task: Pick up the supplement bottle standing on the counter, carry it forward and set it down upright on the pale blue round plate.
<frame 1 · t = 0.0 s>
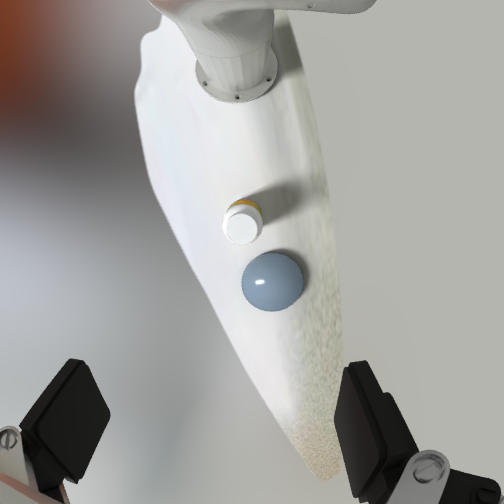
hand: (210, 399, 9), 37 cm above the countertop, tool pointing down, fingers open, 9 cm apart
supplement bottle: (244, 215, 44), on the countertop
pale blue round plate: (272, 280, 47), on the countertop
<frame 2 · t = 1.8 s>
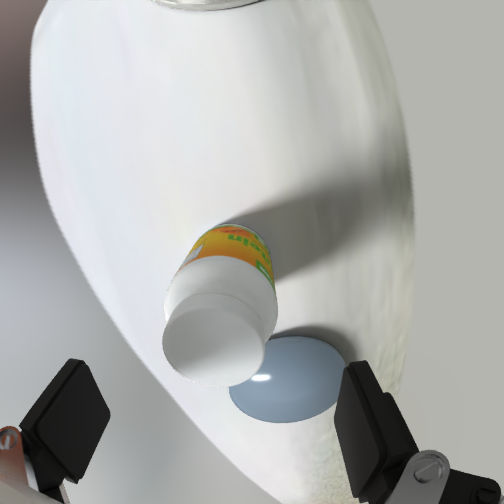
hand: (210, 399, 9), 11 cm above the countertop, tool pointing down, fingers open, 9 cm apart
supplement bottle: (231, 260, 20), on the countertop
pale blue round plate: (287, 377, 23), on the countertop
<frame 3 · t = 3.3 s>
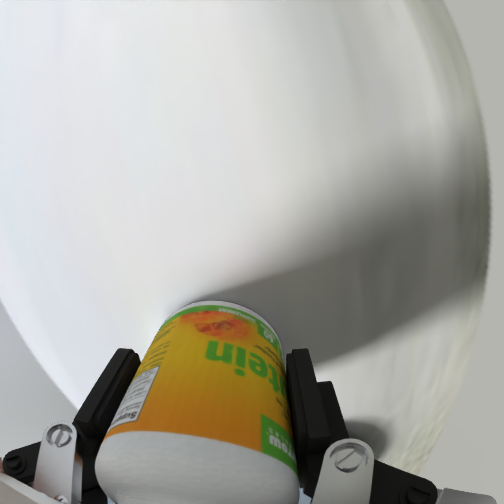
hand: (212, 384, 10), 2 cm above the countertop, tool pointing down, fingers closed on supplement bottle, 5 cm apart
supplement bottle: (219, 349, 12), on the countertop, touching gripper
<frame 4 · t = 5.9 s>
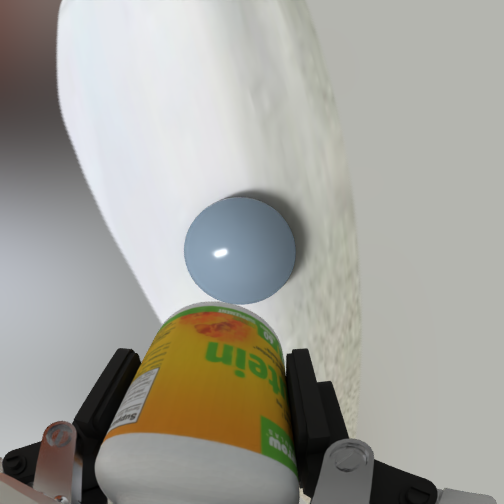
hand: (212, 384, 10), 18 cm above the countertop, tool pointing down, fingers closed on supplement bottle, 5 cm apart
supplement bottle: (219, 350, 12), point 16 cm above the countertop, touching gripper
pale blue round plate: (240, 249, 27), on the countertop
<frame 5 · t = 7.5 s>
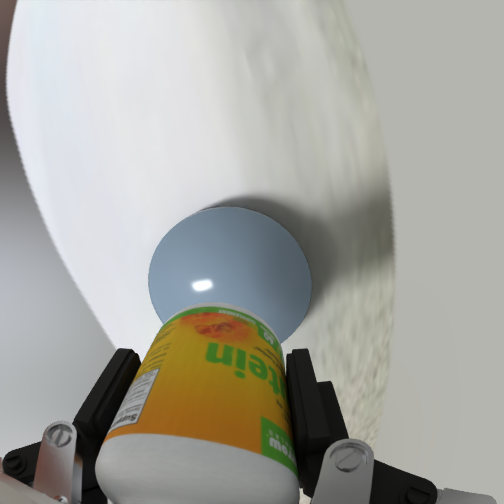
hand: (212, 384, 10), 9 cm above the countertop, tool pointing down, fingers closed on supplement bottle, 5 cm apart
supplement bottle: (219, 351, 12), point 7 cm above the countertop, touching gripper
pale blue round plate: (229, 282, 18), on the countertop
when the fingers open (5 cm above the countertop, at t = 8.7 s): supplement bottle drops 2 cm, resting on pale blue round plate.
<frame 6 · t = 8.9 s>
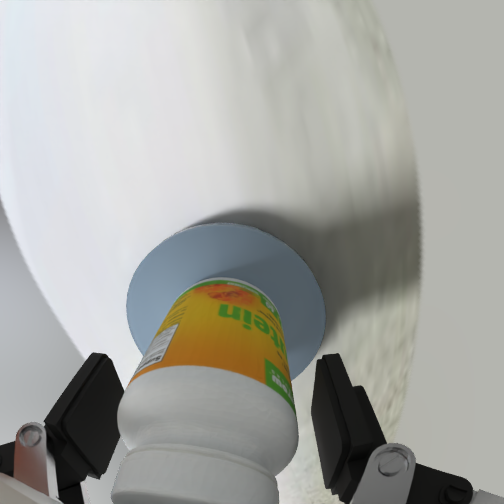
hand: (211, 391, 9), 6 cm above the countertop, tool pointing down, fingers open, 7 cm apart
supplement bottle: (225, 324, 13), point 1 cm above the countertop, touching pale blue round plate
pale blue round plate: (225, 314, 15), on the countertop
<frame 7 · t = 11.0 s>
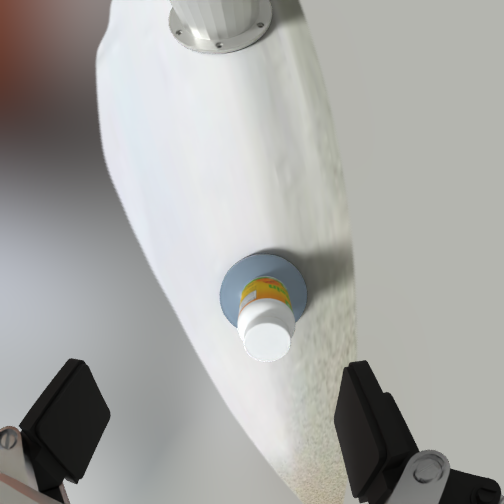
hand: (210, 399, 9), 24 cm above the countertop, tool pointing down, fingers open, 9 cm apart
supplement bottle: (264, 296, 32), point 1 cm above the countertop, touching pale blue round plate
pale blue round plate: (263, 293, 34), on the countertop
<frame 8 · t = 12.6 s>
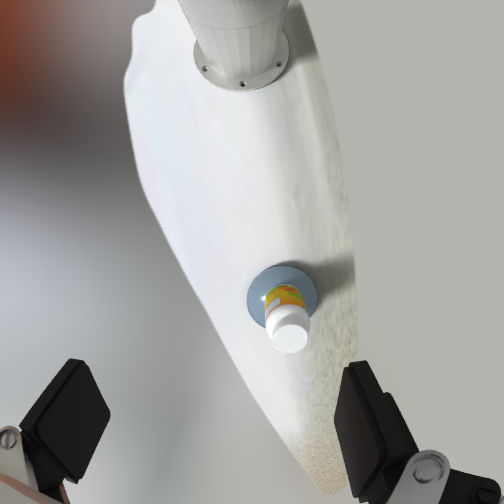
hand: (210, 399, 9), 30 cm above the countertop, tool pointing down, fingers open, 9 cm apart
supplement bottle: (283, 299, 40), point 1 cm above the countertop, touching pale blue round plate
pale blue round plate: (281, 296, 41), on the countertop
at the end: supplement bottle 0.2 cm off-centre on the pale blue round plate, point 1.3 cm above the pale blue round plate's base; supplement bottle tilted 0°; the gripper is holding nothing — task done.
